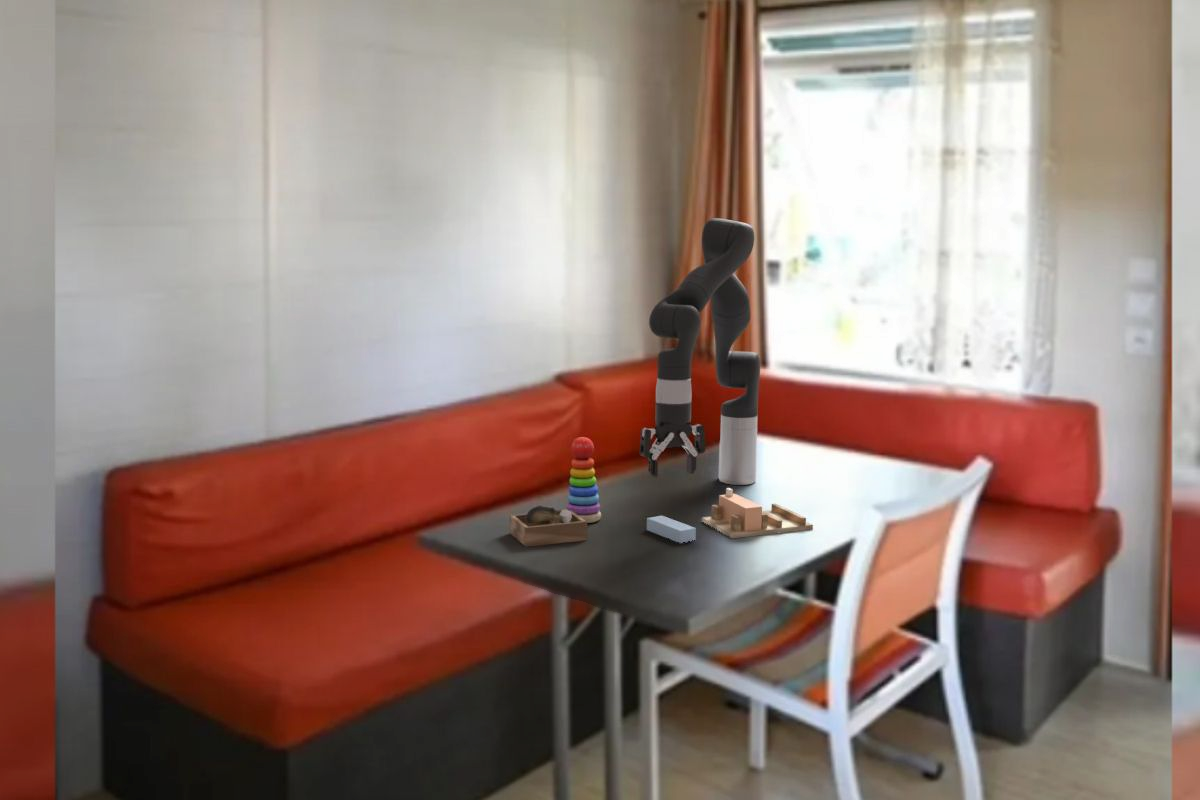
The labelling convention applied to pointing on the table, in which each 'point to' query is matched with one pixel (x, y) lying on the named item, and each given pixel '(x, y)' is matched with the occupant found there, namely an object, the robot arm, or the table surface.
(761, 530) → the jig
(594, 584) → the table surface
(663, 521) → the light blue rectangular block
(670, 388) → the robot arm
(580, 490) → the stacking toy
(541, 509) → the eagle figurine
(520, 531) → the open wooden box
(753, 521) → the knobbed wooden block
